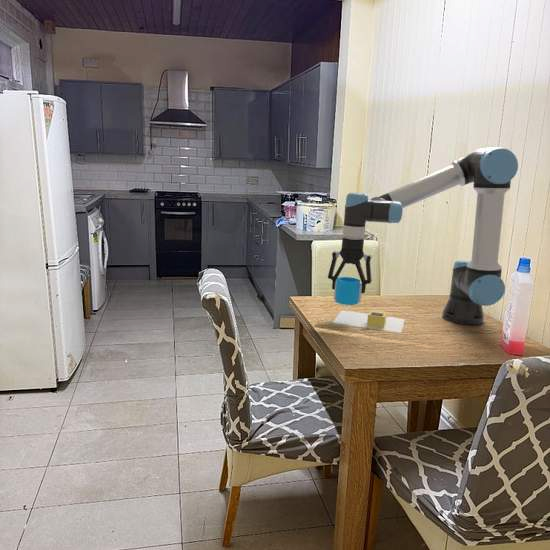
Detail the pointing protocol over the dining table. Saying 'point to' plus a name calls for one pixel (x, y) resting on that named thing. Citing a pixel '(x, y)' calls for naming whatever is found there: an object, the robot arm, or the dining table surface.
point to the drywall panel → (362, 318)
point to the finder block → (376, 319)
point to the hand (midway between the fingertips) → (347, 299)
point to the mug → (347, 290)
